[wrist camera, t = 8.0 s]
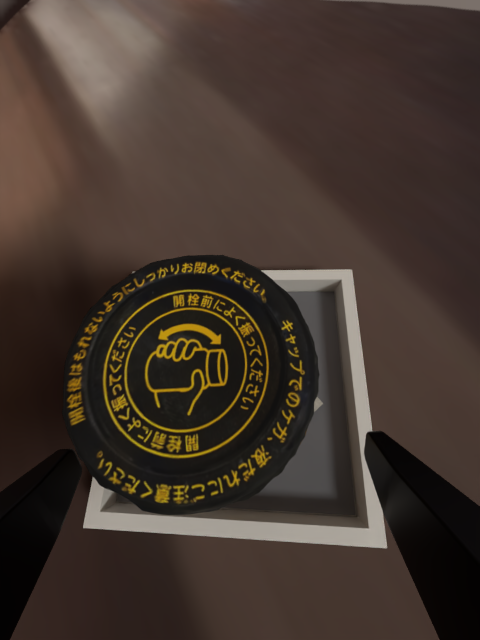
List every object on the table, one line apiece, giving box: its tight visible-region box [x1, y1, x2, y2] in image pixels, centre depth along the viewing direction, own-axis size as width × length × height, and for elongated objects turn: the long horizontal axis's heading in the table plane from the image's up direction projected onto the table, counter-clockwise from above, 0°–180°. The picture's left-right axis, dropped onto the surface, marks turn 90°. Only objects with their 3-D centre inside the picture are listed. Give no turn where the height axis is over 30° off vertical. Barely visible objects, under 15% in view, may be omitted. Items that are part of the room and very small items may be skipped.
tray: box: [83, 270, 387, 548], centre depth 16 cm, size 14×14×2 cm
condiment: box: [62, 255, 323, 515], centre depth 11 cm, size 7×8×12 cm
